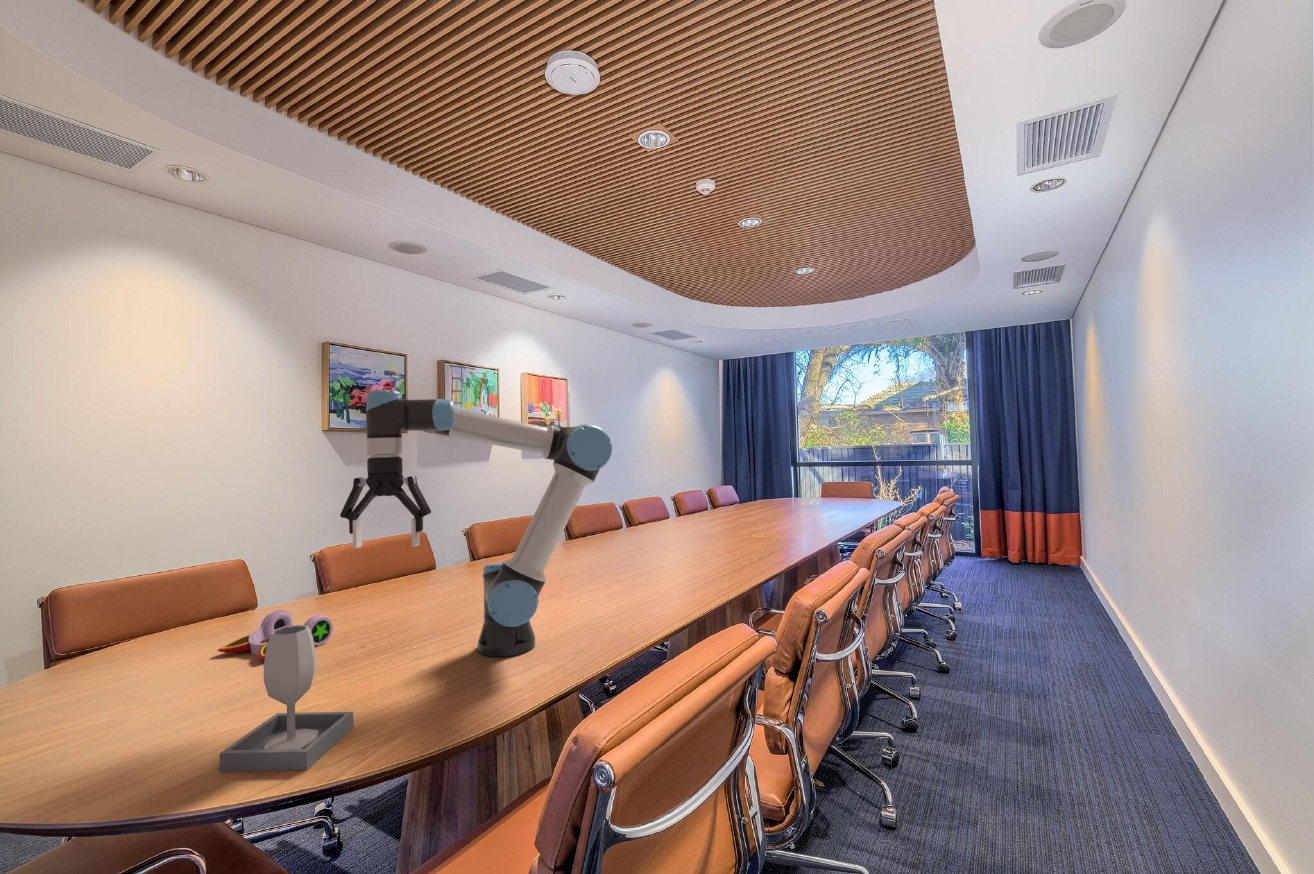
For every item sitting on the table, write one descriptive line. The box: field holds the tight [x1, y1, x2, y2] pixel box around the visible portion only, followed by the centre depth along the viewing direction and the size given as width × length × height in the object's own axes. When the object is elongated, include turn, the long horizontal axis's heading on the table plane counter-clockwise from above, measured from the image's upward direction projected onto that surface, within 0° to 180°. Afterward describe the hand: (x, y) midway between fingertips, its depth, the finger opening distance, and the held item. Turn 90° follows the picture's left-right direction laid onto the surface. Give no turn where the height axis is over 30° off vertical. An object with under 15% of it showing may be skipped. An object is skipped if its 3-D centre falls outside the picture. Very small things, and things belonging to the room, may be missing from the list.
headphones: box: [216, 609, 334, 660], centre depth 163 cm, size 20×10×20 cm
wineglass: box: [263, 624, 319, 749], centre depth 107 cm, size 9×9×21 cm
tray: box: [218, 711, 354, 772], centre depth 107 cm, size 15×15×3 cm
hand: (386, 546), depth 137 cm, fingers open, 13 cm apart
